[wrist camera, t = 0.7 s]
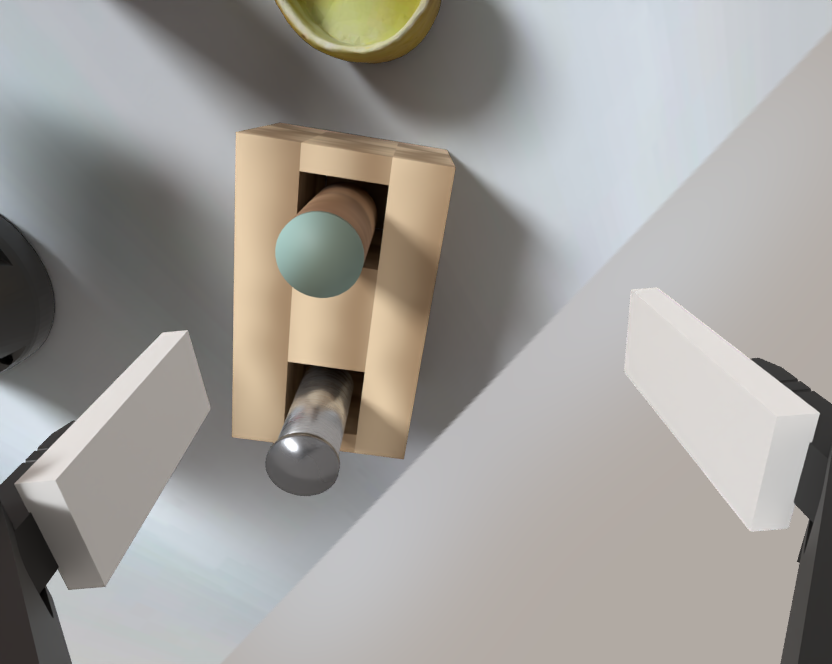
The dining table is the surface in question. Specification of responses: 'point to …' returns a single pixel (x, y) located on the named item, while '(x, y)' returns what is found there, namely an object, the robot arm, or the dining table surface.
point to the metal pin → (312, 433)
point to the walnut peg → (328, 241)
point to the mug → (361, 26)
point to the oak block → (350, 311)
